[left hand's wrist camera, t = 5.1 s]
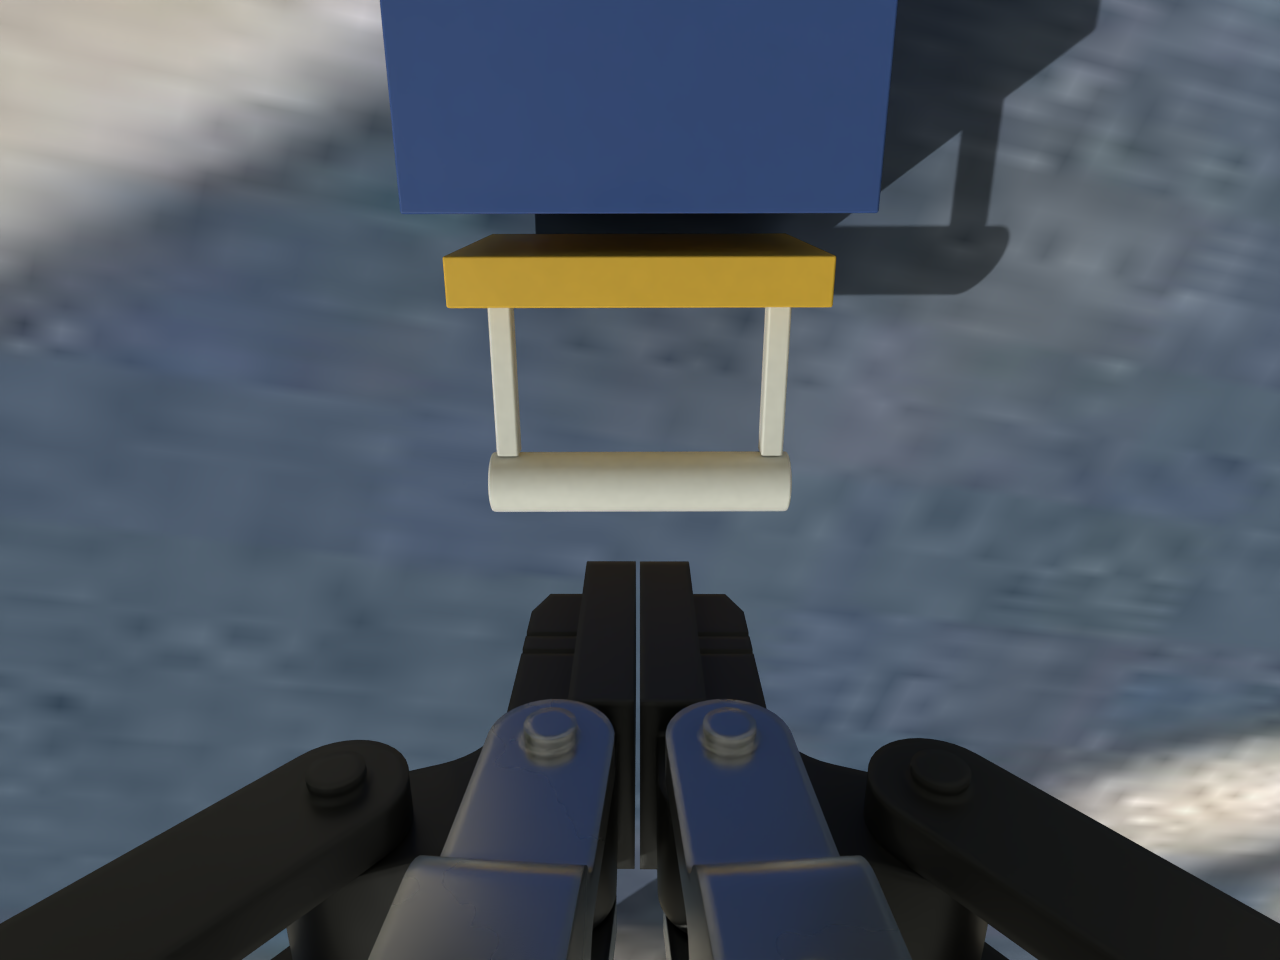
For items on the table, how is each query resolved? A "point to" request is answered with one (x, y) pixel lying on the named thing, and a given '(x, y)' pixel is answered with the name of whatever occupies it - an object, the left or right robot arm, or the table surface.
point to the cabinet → (638, 105)
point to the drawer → (639, 279)
